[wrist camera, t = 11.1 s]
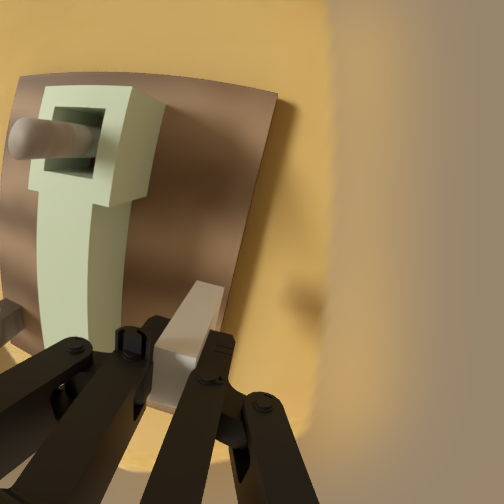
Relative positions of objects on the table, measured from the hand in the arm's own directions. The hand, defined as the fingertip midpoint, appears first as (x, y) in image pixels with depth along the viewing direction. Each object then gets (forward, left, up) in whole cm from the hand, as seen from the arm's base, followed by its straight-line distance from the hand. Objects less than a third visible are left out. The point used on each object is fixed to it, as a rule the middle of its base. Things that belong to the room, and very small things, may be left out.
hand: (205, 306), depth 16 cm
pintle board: (+1, -10, -5) cm, 11 cm away
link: (-1, -9, -4) cm, 9 cm away
